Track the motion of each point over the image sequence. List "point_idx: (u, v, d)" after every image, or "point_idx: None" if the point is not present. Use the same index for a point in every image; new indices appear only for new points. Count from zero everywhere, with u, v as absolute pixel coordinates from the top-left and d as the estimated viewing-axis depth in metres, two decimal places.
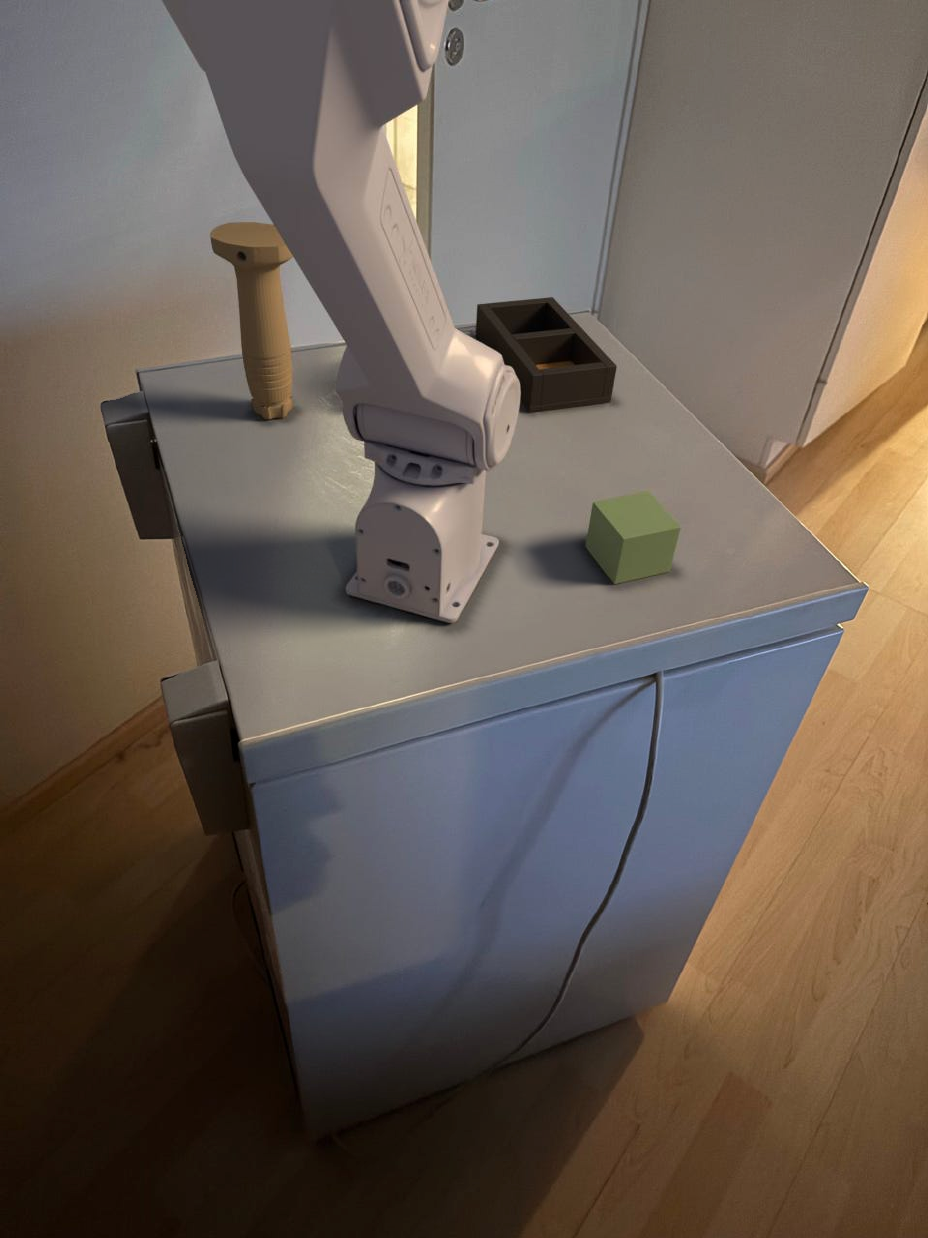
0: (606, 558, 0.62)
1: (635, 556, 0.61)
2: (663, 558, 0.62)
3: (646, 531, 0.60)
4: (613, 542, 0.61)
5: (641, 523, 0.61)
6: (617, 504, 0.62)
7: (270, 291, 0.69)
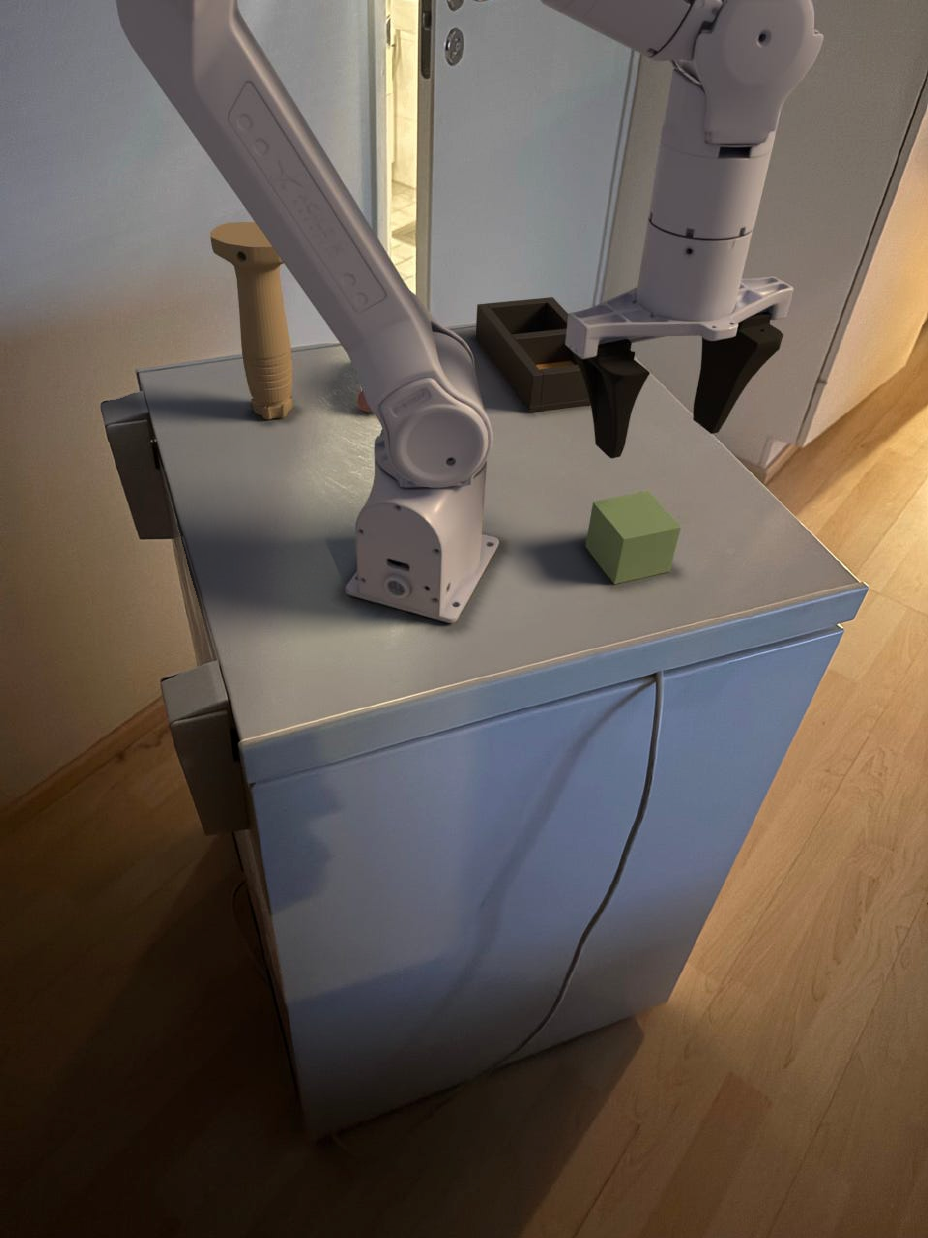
0: (606, 558, 0.62)
1: (635, 556, 0.61)
2: (663, 558, 0.62)
3: (646, 531, 0.60)
4: (613, 542, 0.61)
5: (641, 523, 0.61)
6: (617, 504, 0.62)
7: (270, 291, 0.69)
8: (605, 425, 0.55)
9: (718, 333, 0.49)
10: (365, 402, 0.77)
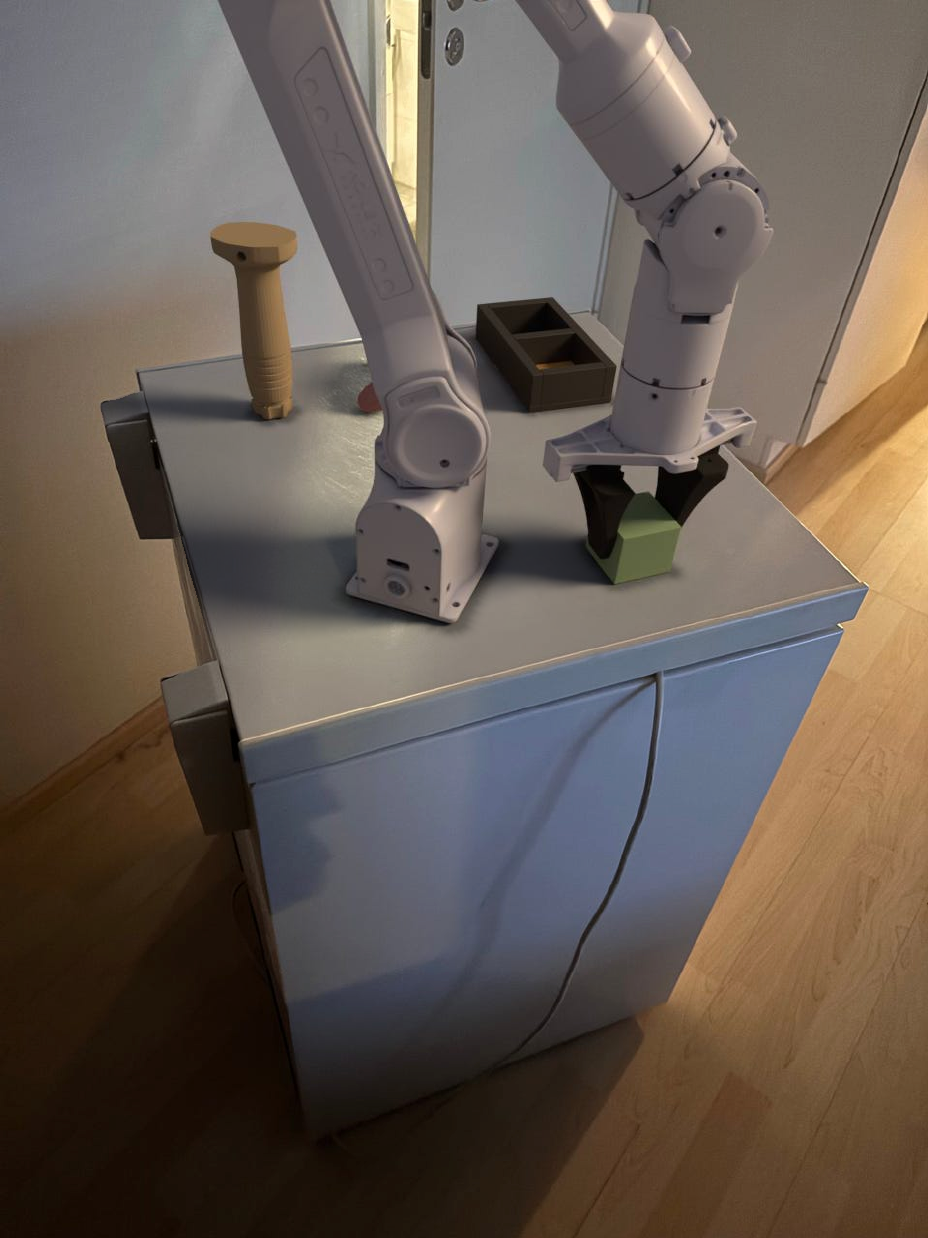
0: None
1: (635, 556, 0.61)
2: (663, 558, 0.62)
3: (646, 531, 0.60)
4: None
5: (641, 523, 0.61)
6: None
7: (270, 291, 0.69)
8: (597, 530, 0.61)
9: (679, 467, 0.54)
10: (365, 402, 0.77)
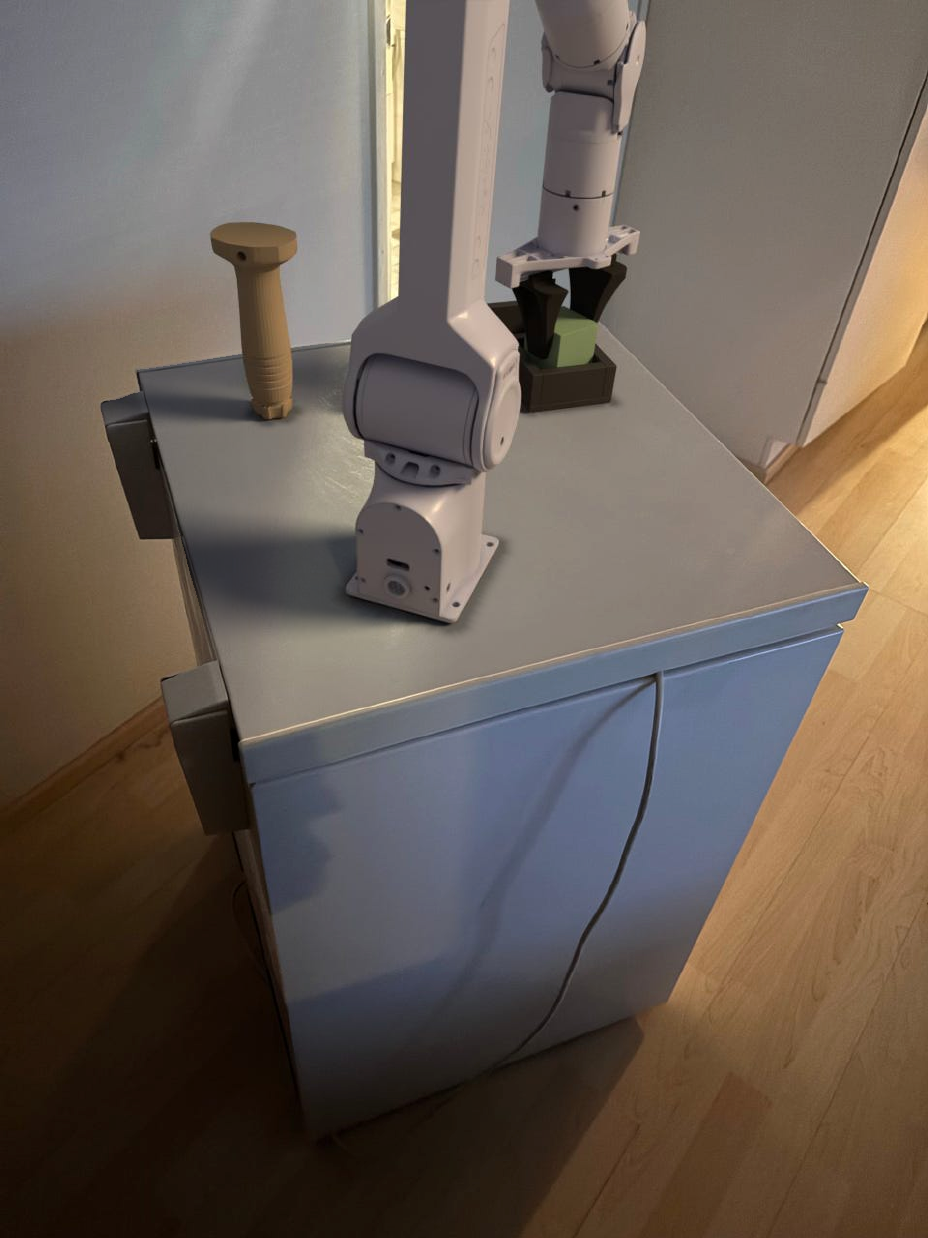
0: (545, 359, 0.79)
1: (569, 352, 0.78)
2: (587, 352, 0.79)
3: (575, 329, 0.77)
4: None
5: (568, 325, 0.78)
6: None
7: (270, 291, 0.69)
8: (536, 335, 0.77)
9: (599, 263, 0.72)
10: None
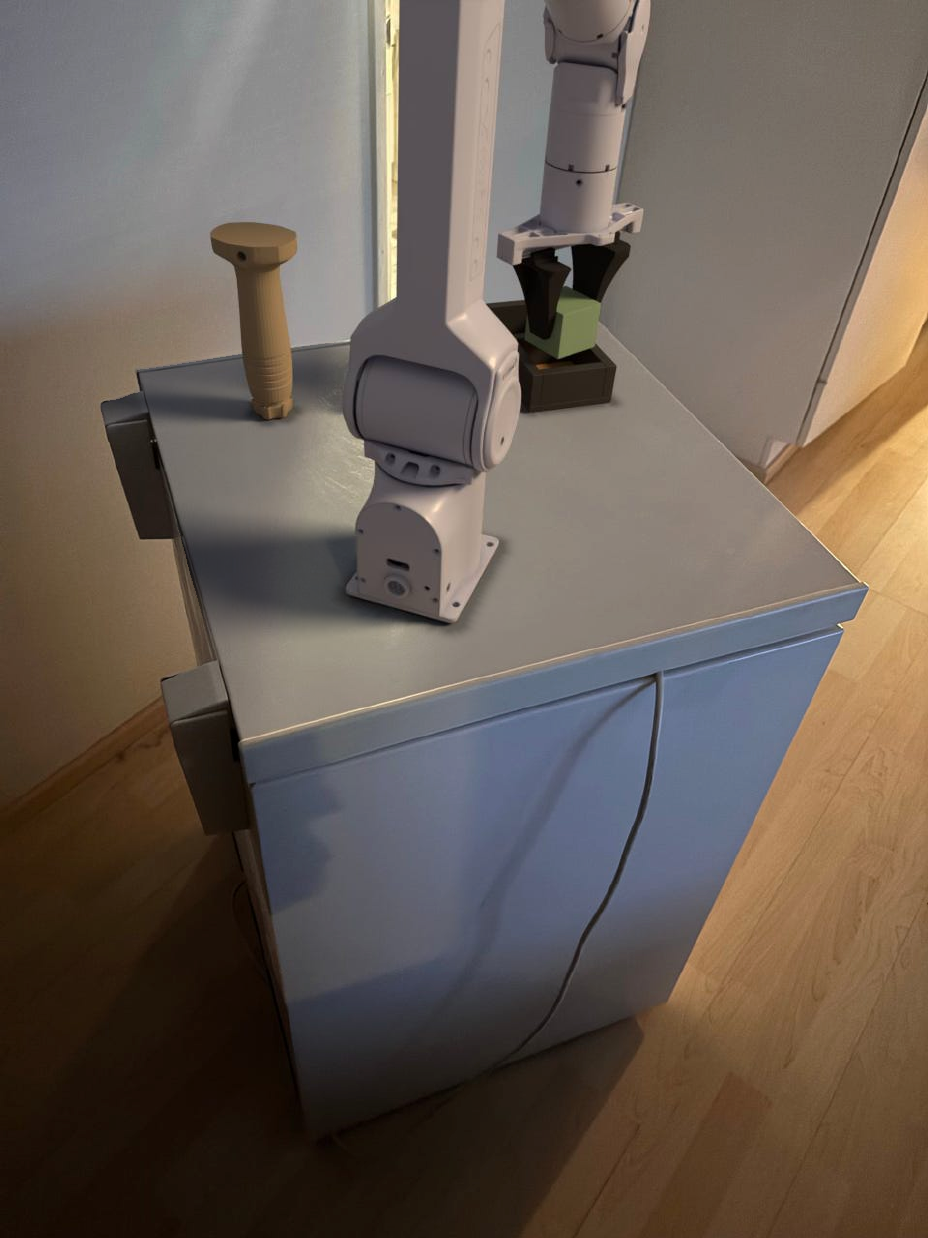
0: (547, 339, 0.78)
1: (571, 332, 0.77)
2: (590, 333, 0.78)
3: (577, 308, 0.76)
4: None
5: (571, 304, 0.76)
6: None
7: (270, 291, 0.69)
8: (538, 315, 0.76)
9: (603, 239, 0.70)
10: None
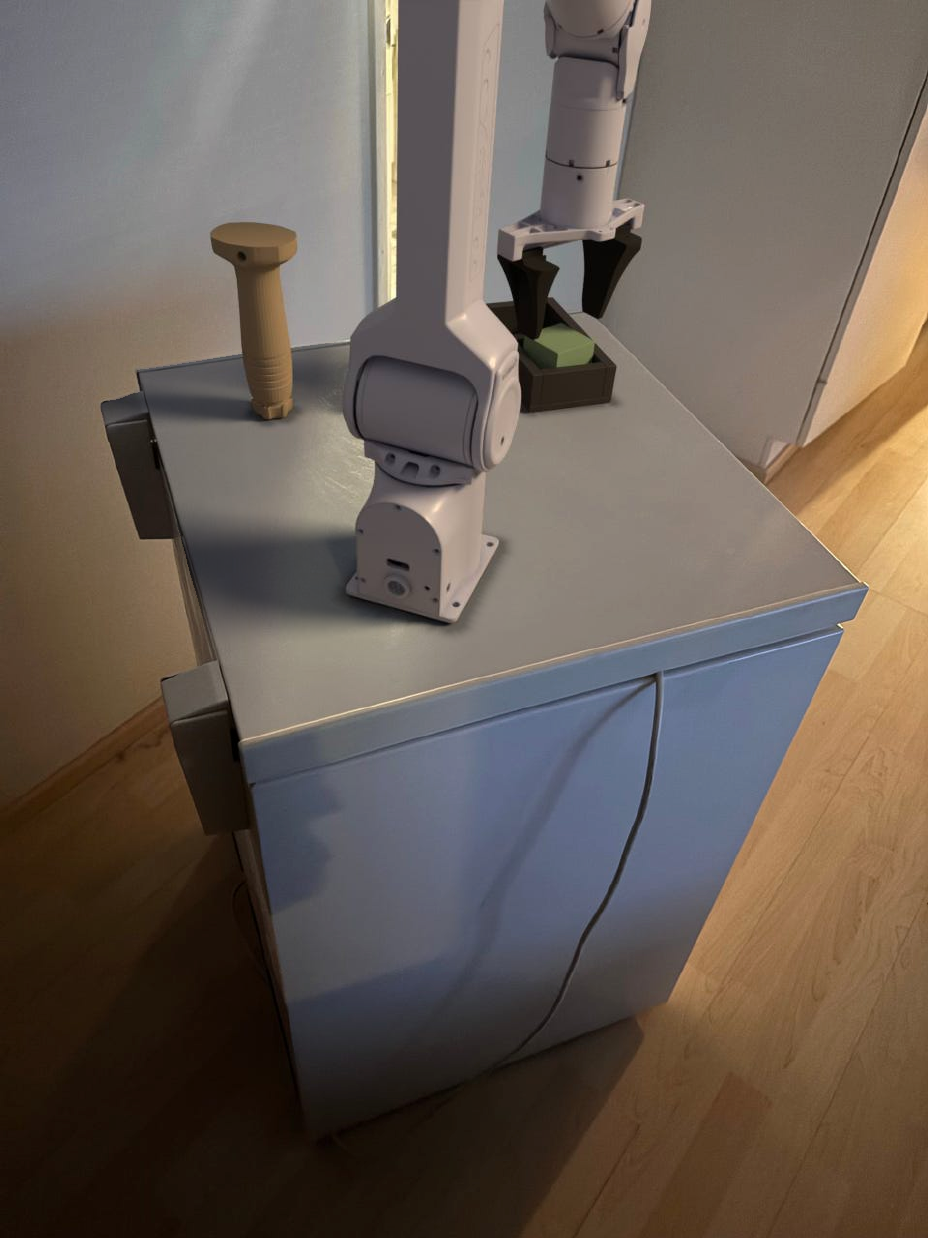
0: None
1: None
2: None
3: (572, 347, 0.78)
4: (548, 360, 0.78)
5: (565, 343, 0.79)
6: (542, 333, 0.80)
7: (270, 291, 0.69)
8: (526, 315, 0.75)
9: (603, 235, 0.70)
10: None
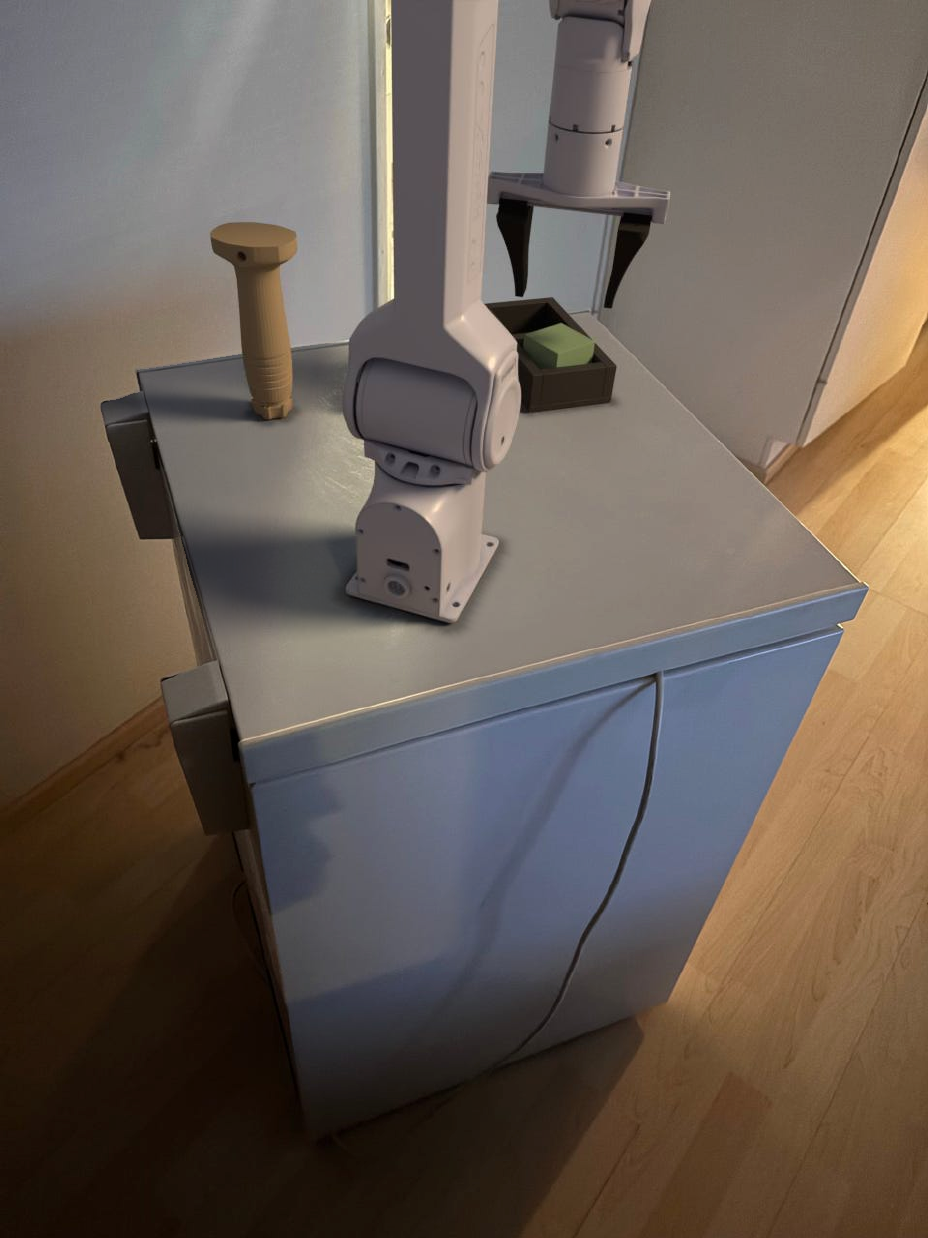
0: None
1: None
2: None
3: (572, 347, 0.78)
4: (548, 360, 0.78)
5: (565, 343, 0.79)
6: (542, 333, 0.80)
7: (270, 291, 0.69)
8: None
9: None
10: None
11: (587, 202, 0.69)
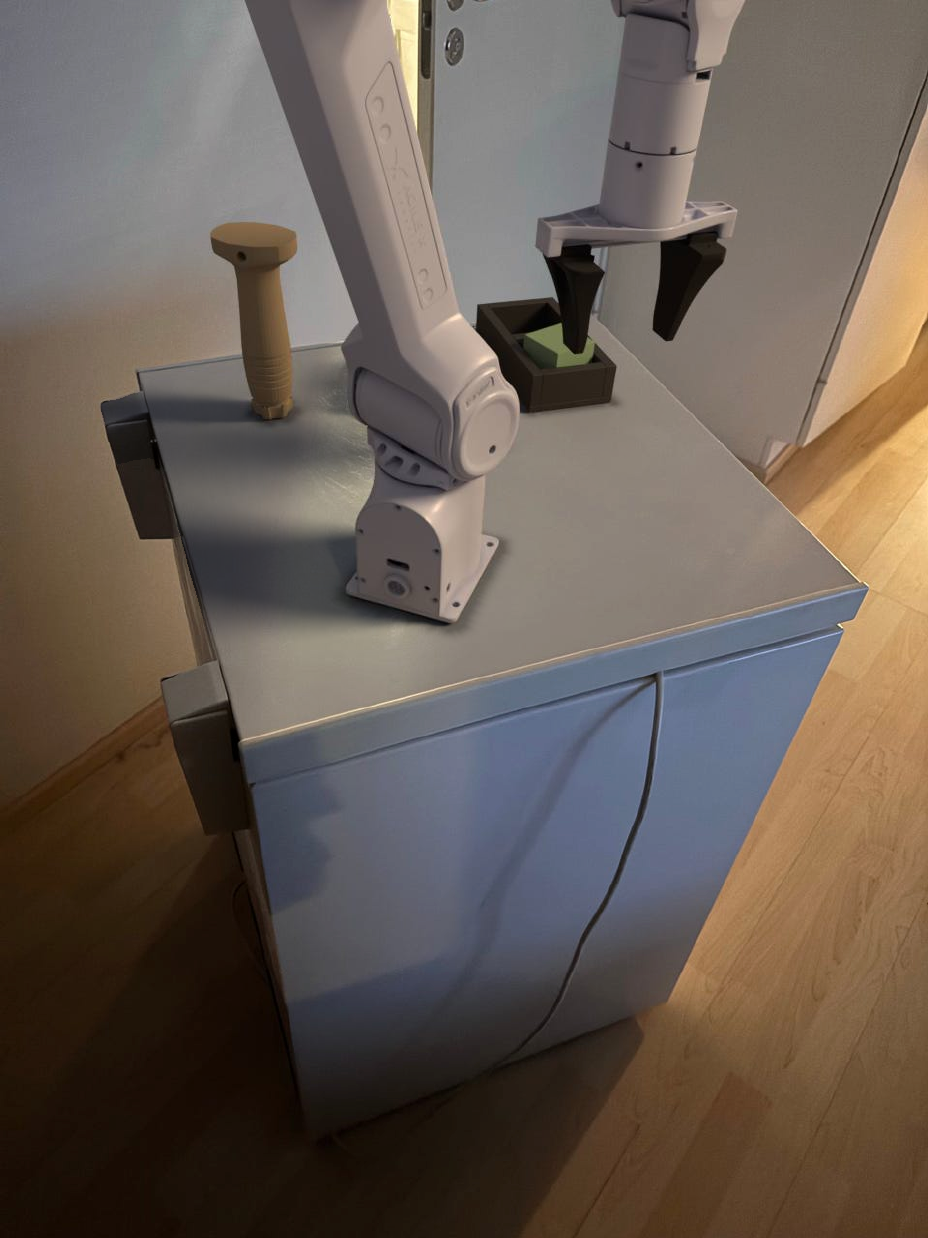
0: None
1: None
2: None
3: None
4: (548, 360, 0.78)
5: None
6: (542, 333, 0.80)
7: (270, 291, 0.69)
8: None
9: None
10: None
11: (674, 232, 0.59)
